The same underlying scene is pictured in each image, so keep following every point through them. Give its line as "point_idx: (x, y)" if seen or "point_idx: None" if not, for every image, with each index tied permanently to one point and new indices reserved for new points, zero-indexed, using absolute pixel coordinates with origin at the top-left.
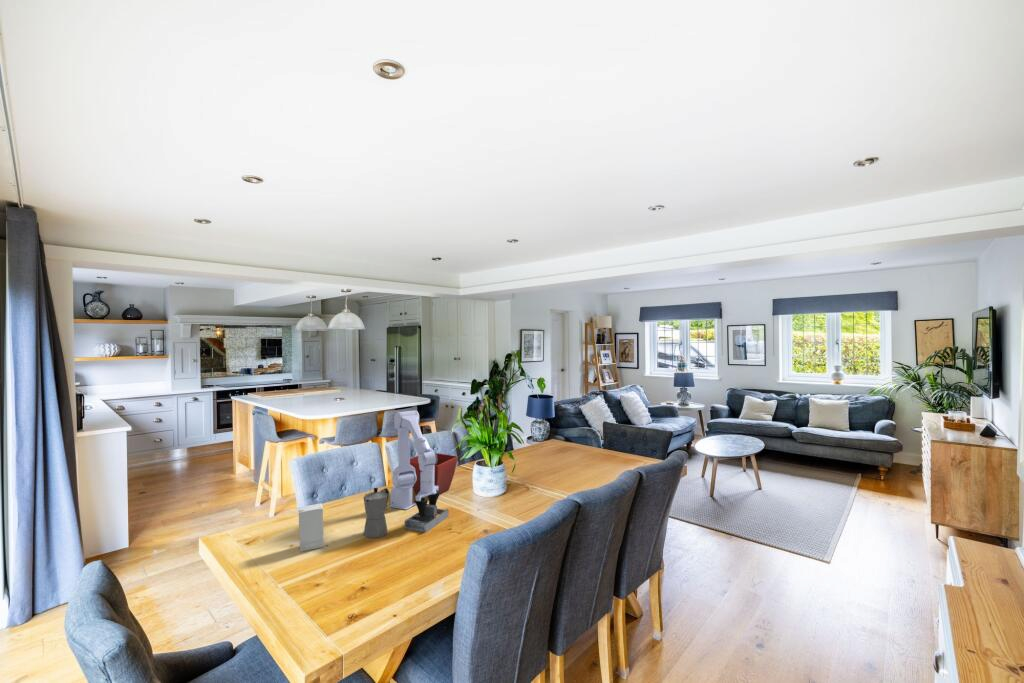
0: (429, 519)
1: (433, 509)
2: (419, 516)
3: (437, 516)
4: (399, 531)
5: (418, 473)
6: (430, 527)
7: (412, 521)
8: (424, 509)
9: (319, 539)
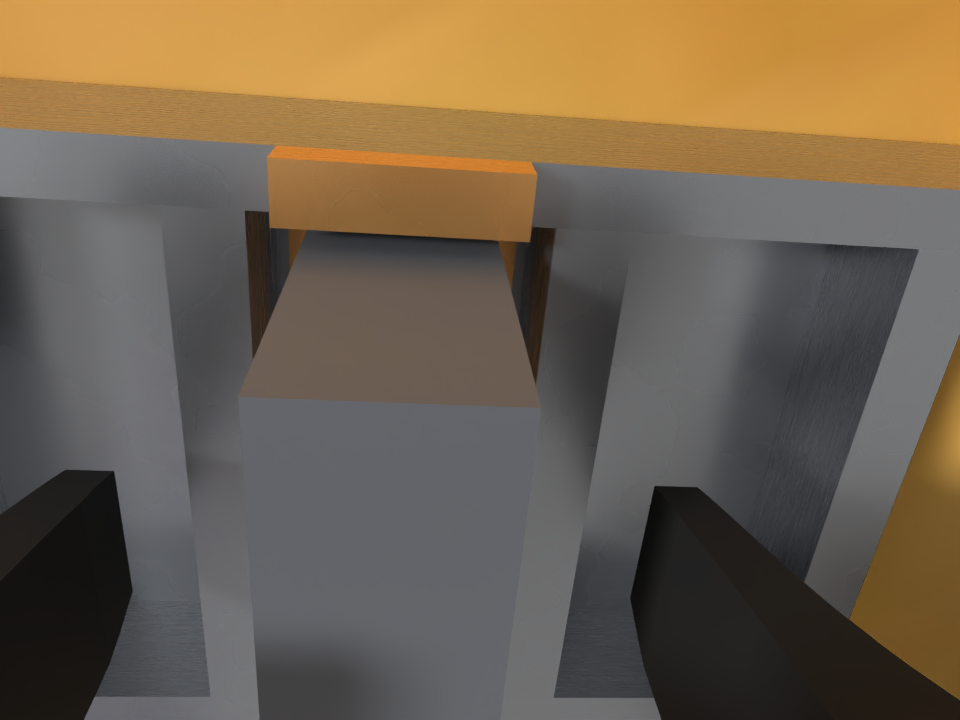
0: (613, 311)
1: (522, 383)
2: (562, 602)
3: (416, 155)
4: (921, 613)
5: None
6: (769, 140)
7: (842, 597)
8: (860, 631)
9: None
